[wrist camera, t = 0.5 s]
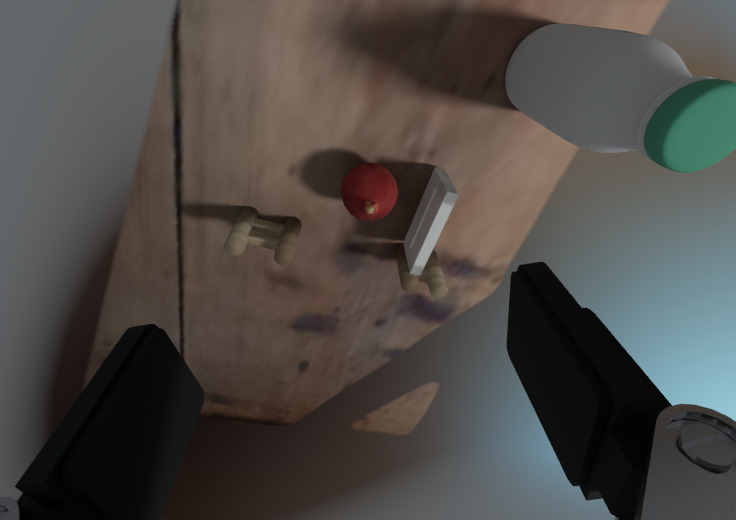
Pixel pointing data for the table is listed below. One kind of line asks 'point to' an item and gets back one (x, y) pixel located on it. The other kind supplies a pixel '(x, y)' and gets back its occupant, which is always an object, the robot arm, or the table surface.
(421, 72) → the table surface
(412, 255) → the gate
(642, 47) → the milk bottle
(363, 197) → the onion
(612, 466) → the robot arm
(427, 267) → the fence
